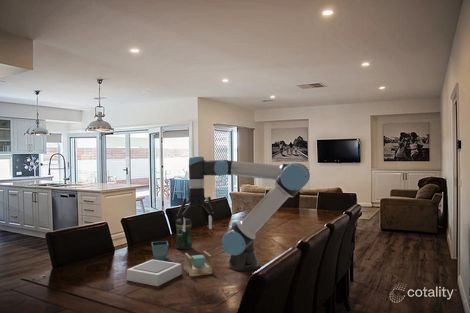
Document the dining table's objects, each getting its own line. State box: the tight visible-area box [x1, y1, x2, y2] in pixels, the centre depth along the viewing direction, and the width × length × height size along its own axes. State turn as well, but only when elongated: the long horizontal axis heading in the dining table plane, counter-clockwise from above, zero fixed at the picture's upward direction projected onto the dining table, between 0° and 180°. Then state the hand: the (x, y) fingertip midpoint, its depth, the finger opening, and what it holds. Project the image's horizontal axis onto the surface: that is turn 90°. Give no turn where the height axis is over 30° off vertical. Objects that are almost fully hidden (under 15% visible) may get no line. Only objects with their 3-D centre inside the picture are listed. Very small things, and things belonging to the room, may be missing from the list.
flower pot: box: [151, 240, 169, 261], centre depth 200 cm, size 9×9×9 cm
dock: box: [126, 259, 183, 287], centre depth 170 cm, size 18×18×5 cm
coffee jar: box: [175, 218, 193, 250], centre depth 224 cm, size 10×8×19 cm
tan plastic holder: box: [183, 250, 213, 277], centre depth 178 cm, size 11×12×8 cm
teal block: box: [190, 254, 205, 267], centre depth 178 cm, size 6×6×4 cm
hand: (197, 230), depth 178 cm, fingers open, 13 cm apart
